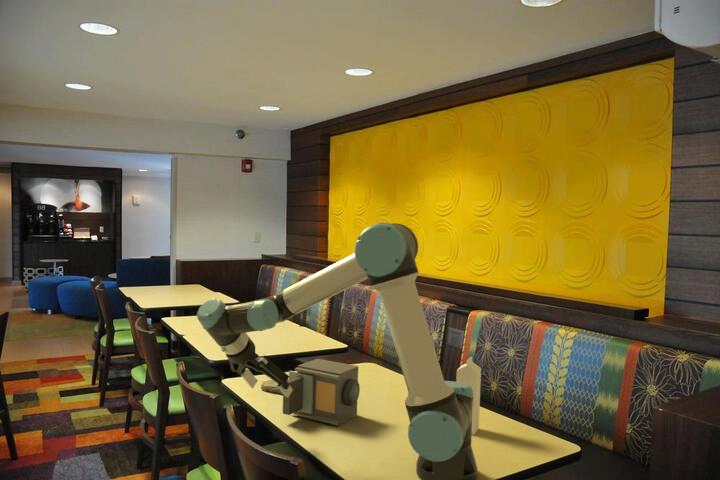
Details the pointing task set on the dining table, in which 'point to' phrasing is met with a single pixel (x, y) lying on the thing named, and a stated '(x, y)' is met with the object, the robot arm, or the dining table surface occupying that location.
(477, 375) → the milk
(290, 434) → the dining table surface
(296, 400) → the door
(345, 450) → the dining table surface
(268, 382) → the long grey stone
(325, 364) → the camera box
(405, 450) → the dining table surface
